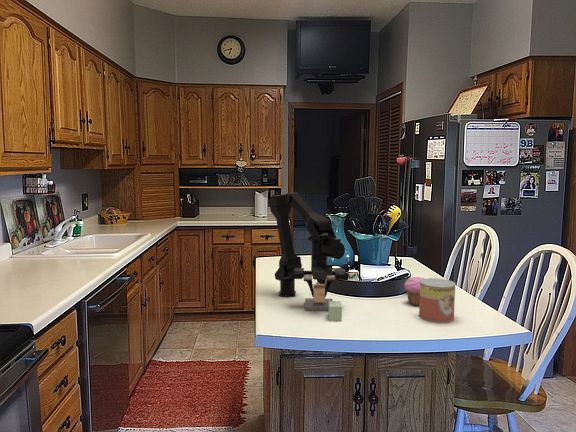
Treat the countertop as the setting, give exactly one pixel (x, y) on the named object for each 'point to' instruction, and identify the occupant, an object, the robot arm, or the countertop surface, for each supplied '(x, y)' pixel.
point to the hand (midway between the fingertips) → (319, 297)
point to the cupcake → (413, 289)
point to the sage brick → (335, 311)
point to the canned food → (437, 300)
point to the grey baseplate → (316, 305)
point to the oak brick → (319, 293)
